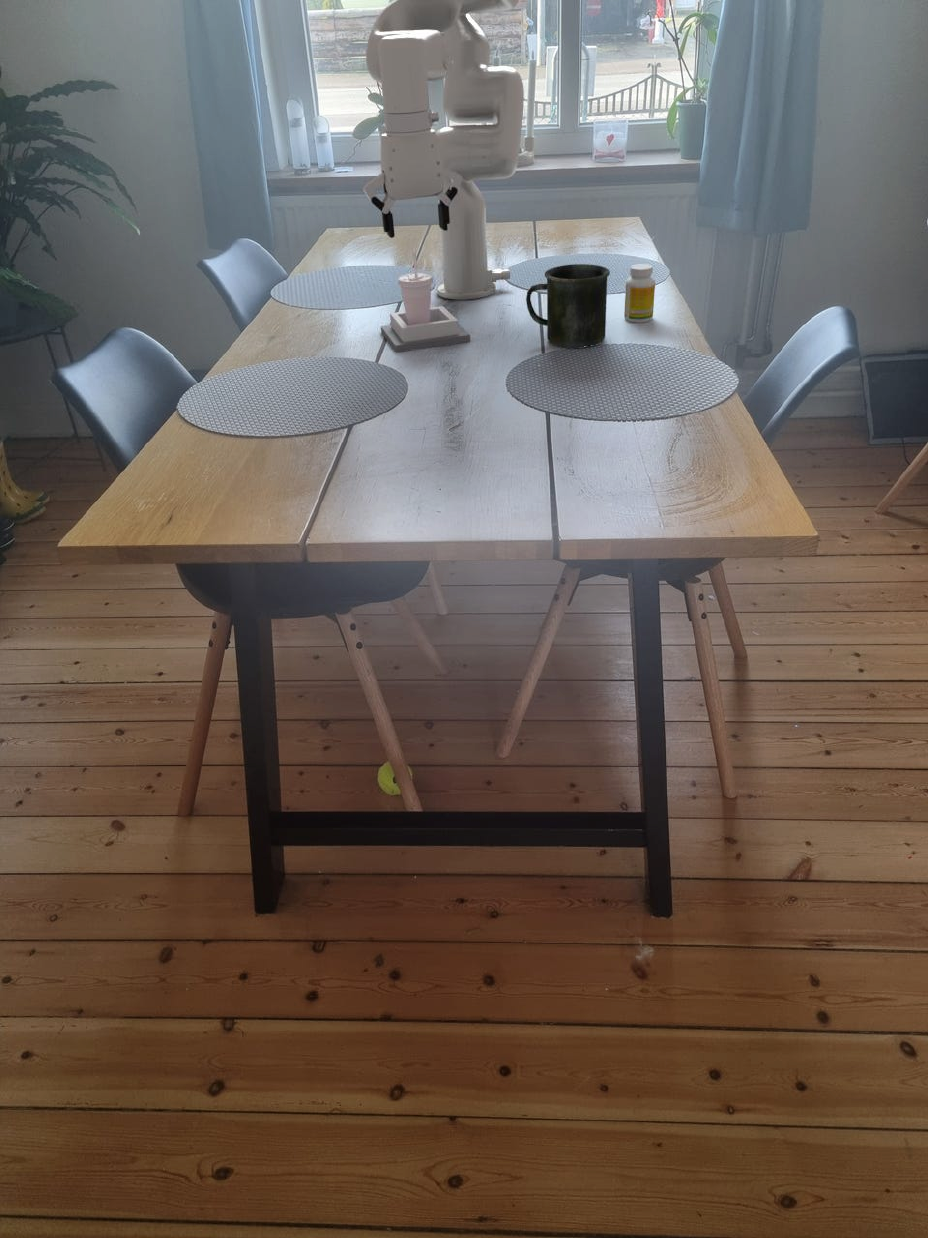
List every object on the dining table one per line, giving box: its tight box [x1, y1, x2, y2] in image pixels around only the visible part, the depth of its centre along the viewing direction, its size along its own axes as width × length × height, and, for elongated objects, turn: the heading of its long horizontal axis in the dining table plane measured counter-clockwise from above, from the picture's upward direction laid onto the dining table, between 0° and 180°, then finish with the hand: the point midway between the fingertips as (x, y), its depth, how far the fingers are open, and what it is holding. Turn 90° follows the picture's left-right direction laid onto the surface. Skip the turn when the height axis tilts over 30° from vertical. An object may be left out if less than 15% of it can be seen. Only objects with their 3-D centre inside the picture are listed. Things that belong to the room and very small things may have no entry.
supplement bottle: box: [623, 263, 656, 324], centre depth 169 cm, size 5×5×10 cm
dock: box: [380, 305, 471, 353], centre depth 169 cm, size 14×13×4 cm
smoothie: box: [397, 250, 434, 326], centre depth 165 cm, size 6×6×14 cm
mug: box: [525, 263, 611, 349], centre depth 160 cm, size 11×15×12 cm
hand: (417, 232), depth 160 cm, fingers open, 9 cm apart
